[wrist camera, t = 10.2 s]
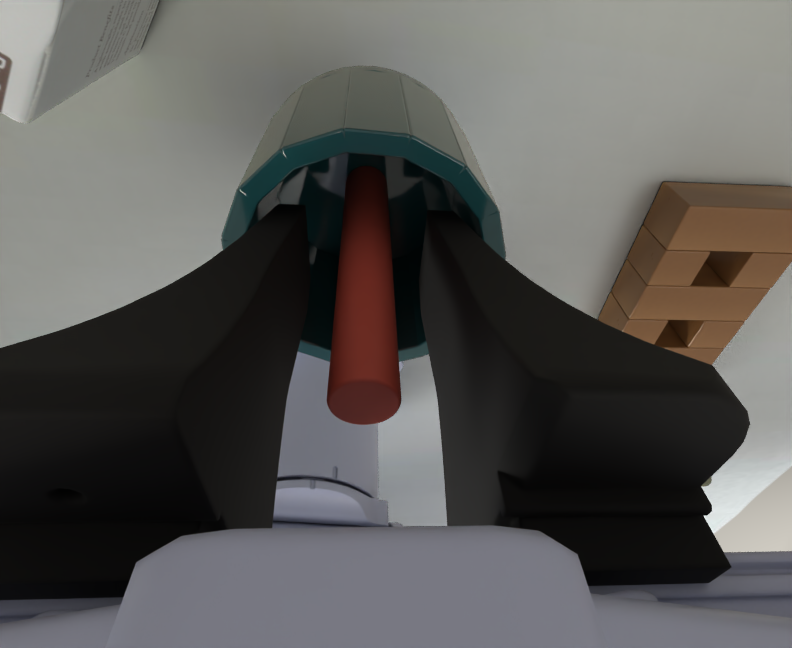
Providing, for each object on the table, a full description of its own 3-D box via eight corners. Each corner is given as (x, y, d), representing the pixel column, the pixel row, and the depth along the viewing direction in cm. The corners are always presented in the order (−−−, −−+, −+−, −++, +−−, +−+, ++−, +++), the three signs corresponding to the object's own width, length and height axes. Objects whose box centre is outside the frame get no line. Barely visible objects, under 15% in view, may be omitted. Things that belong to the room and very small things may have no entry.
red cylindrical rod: (375, 210, 14) (380, 433, 8) (339, 193, 13) (314, 415, 7) (394, 176, 13) (415, 392, 7) (357, 157, 13) (345, 370, 7)
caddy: (654, 389, 31) (671, 418, 29) (563, 389, 31) (575, 418, 29) (792, 186, 21) (831, 210, 19) (662, 181, 21) (690, 206, 19)
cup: (405, 287, 16) (415, 390, 13) (237, 218, 14) (193, 318, 11) (509, 135, 13) (564, 219, 9) (309, 14, 11) (278, 61, 7)
